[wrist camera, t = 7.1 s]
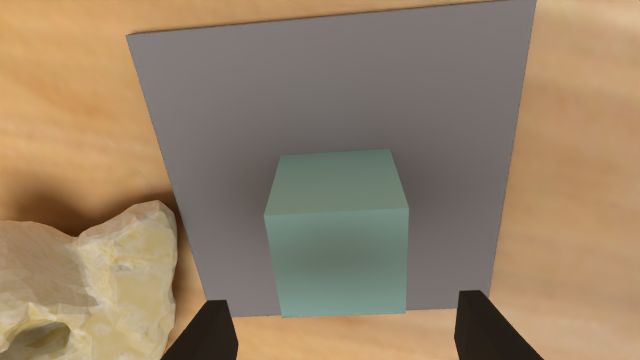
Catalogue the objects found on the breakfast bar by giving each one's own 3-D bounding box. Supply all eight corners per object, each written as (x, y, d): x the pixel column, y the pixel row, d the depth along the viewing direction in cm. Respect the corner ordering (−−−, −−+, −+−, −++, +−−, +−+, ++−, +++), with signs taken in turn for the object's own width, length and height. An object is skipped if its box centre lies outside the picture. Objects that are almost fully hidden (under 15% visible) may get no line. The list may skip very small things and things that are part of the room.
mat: (529, -3, 15) (536, -2, 14) (483, 299, 23) (486, 307, 22) (131, 33, 16) (125, 35, 16) (214, 310, 24) (212, 317, 23)
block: (389, 148, 18) (409, 207, 13) (389, 237, 20) (405, 313, 15) (280, 155, 18) (263, 215, 13) (293, 242, 20) (282, 317, 16)
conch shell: (52, 110, 20) (-256, 365, 15) (91, 142, 15) (-348, 531, 10) (223, 255, 30) (68, 434, 26) (280, 302, 25) (100, 534, 21)
